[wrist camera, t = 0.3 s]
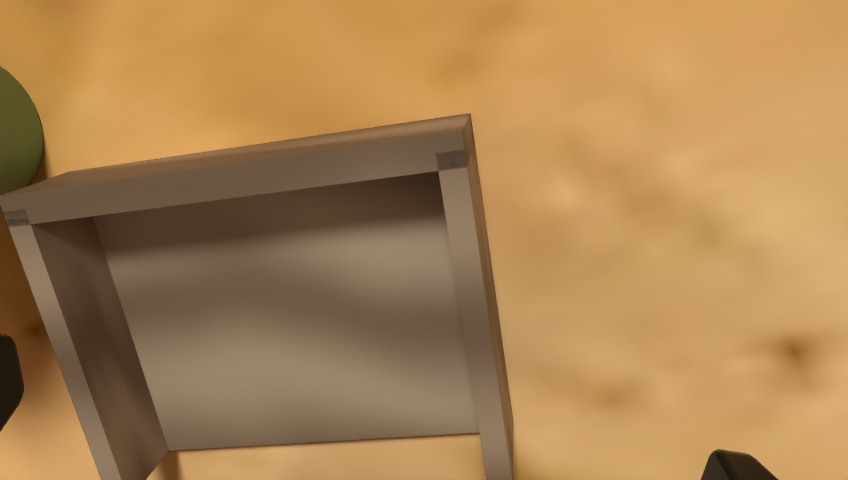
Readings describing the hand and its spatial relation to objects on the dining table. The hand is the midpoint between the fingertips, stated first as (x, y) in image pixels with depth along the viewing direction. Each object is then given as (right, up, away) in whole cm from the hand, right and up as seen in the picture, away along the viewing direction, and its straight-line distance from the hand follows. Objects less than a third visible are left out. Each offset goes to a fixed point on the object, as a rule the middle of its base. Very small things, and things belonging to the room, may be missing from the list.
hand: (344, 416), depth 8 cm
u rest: (-4, 0, +16) cm, 16 cm away
